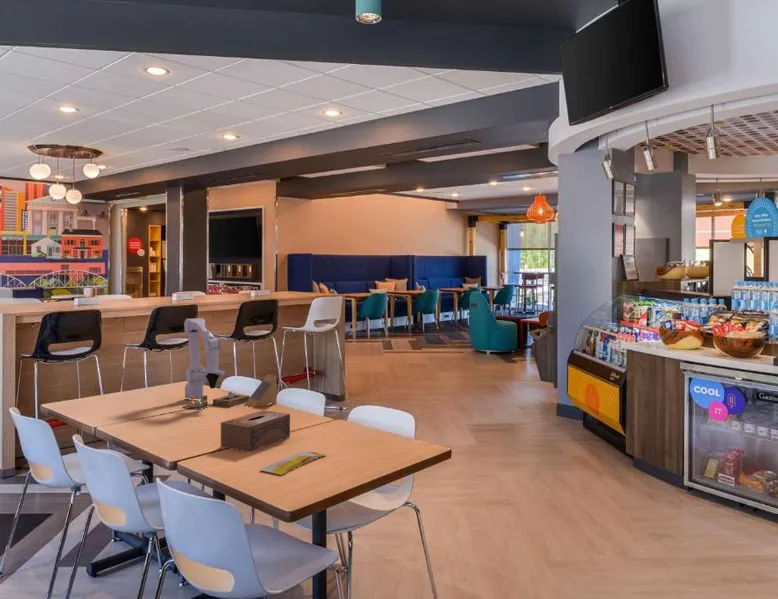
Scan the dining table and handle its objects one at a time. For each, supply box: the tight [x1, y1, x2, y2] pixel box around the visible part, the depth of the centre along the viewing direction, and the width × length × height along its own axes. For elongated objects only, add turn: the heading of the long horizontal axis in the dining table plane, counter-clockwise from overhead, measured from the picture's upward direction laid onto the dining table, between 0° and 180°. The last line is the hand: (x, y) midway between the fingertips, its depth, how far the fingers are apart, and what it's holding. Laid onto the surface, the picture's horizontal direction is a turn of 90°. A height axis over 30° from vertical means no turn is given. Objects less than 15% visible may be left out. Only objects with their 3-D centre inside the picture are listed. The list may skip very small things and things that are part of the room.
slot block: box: [212, 393, 250, 408], centre depth 328 cm, size 11×16×3 cm
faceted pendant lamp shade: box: [188, 394, 209, 407], centre depth 320 cm, size 9×10×4 cm
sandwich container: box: [243, 374, 278, 408], centre depth 325 cm, size 9×15×15 cm, turn 136°
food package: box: [259, 450, 327, 476], centre depth 226 cm, size 27×2×10 cm
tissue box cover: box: [220, 409, 291, 452], centre depth 254 cm, size 26×14×10 cm, turn 151°
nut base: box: [182, 395, 215, 410], centre depth 319 cm, size 12×11×5 cm
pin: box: [227, 391, 235, 400], centre depth 328 cm, size 3×3×6 cm
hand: (212, 388), depth 320 cm, fingers closed
